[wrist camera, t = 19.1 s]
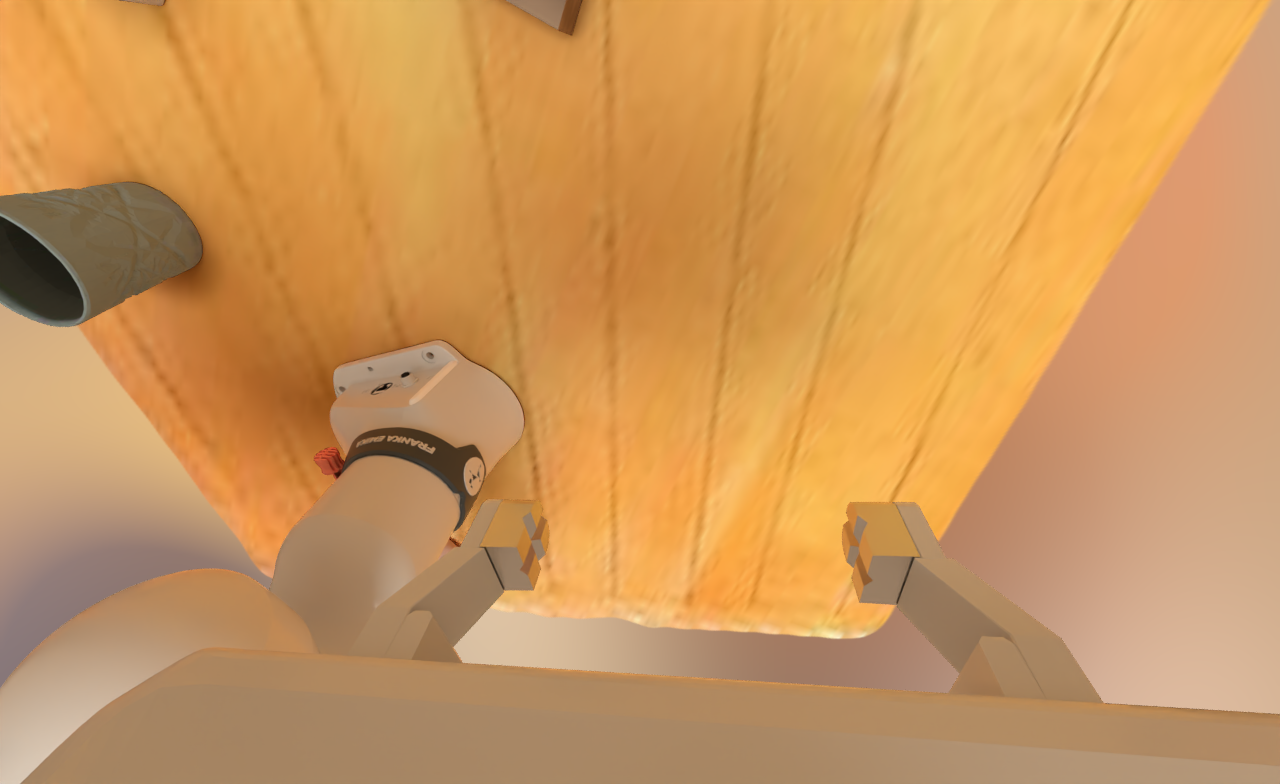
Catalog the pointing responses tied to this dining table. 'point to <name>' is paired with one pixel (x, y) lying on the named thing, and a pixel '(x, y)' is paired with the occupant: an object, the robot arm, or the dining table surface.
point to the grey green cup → (89, 249)
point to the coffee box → (148, 2)
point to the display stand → (552, 12)
